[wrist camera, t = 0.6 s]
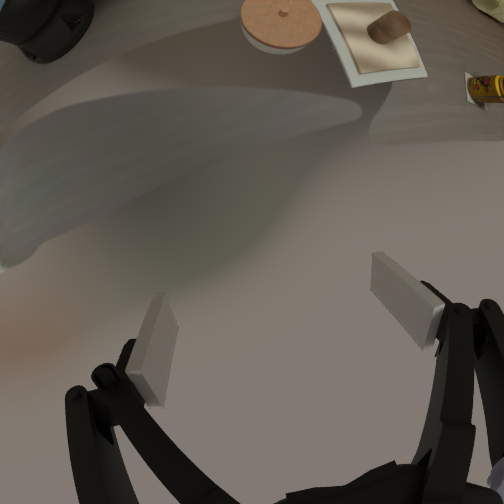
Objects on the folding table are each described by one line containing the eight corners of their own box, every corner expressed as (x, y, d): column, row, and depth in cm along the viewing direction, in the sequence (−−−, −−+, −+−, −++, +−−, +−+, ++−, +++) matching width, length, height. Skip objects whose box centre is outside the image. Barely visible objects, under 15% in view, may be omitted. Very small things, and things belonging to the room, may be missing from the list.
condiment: (464, 71, 33) (502, 67, 22) (484, 83, 34) (520, 83, 23) (466, 100, 36) (507, 101, 25) (486, 111, 37) (524, 114, 26)
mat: (308, -1, 29) (309, -2, 28) (389, -2, 28) (390, -3, 27) (351, 88, 35) (352, 87, 35) (425, 77, 34) (427, 76, 34)
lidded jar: (316, 29, 31) (338, 6, 22) (288, 75, 34) (305, 57, 25) (257, 0, 28) (265, -29, 20) (224, 45, 32) (225, 20, 23)
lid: (325, 5, 29) (343, -15, 21) (387, 5, 28) (410, -10, 20) (358, 74, 34) (383, 63, 27) (417, 67, 33) (445, 60, 26)
